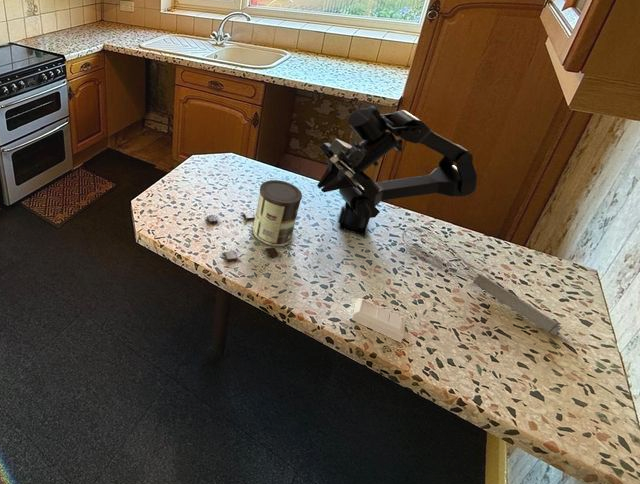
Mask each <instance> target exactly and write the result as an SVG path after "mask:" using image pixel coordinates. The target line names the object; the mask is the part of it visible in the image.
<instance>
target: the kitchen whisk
mask: <svg viewBox="0 0 640 484" xmlns="http://www.w3.org/2000/svg"><path fill="white" fill-rule="evenodd" d="M410 231H413V232H416V233H418V234H420V235H422V236H423V237H425V238H426V239H428V240H429V241H431V242H432V243H434V244H435V245H436V246H438V247H440V248H441V249H442V250H444V251H445V252H446V253H448V254H449V255H450V256H451V257H449V255H447V254H445V253H444V252H442V251H441V250H440V249H439V248H436V247H435V246H434V245H432V244H431V243H430V242H427V241H426V240H425V239H423V238H421V237H420V236H417V235H416V234H413V232H410ZM419 231H420V232H419ZM421 232H422V233H425V234H427V235H429V236H430V237H432V238H434V239H435V240H436V241H438V242H439V243H441V244H442V245H443V246H445V247H446V248H447V249H448V250H450V252H452V253H453V254H454V255H456V256H457V257H458V259H457V257H455V256H453V254H451V253H450V252H448V250H446V249H444V248H443V247H442V246H440V245H439V244H438V243H436V242H435V241H433V240H432V239H431V238H429V237H427V236H426V235H425V234H422V233H421ZM407 233H408V234H411V235H413V236H415V237H417V238H419V239H420V240H421V241H423V242H425V243H426V244H428V245H429V246H431V247H433V248H434V249H436V250H437V251H438V252H440V253H442V254H444V255H445V256H446V257H447V258H449V259H450V260H451V261H453V262H455V263H456V264H457V265H459V266H460V267H462V268H463V269H464V270H466V271H464V270H463V269H461V268H459V267H458V266H456V265H454V264H452V263H451V262H450V261H447V260H446V259H444V258H443V257H441V256H440V255H438V254H436V253H434V252H433V251H431V250H430V249H428V248H427V247H425V246H423V245H422V244H420V243H418V242H417V241H415V240H414V239H413V238H411V237H410V236H409V235H407ZM404 236H405V237H406V239H407V240H408V241H409V242H410V243H411V244H412V245H413V246H415V247H416V248H417V249H418V250H419V251H422V252H423V253H425V254H426V255H428V256H429V257H431V258H433V259H434V260H437V261H438V262H440V263H442V264H443V265H442V264H440V263H437V262H436V261H434V260H432V259H430V258H427V257H426V256H425V255H423V254H421V253H419V252H418V251H416V250H415V249H414V248H412V247H411V246H410V245H408V244H407V242H406V241H405V237H404ZM401 239H402V241H403V243H404V244H405V245H406V247H407V248H408V249H410V250H411V251H412V252H413V253H414V254H415V255H417V256H419V257H420V258H421V259H424V260H426V261H427V262H429V263H431V264H433V265H435V266H437V267H439V268H442V269H444V270H446V271H449V272H451V273H454V274H456V275H457V276H461V277H463V278H466V279H469V280H472V281H473V284H474V285H475V286H477V287H479V288H480V289H482V290H483V291H485V292H486V293H488V294H489V295H491V296H492V297H494V298H495V299H497V300H499V301H500V302H502V303H503V304H504V305H506V306H507V307H509V308H510V309H512V310H514V311H515V312H517V314H519V315H521V316H522V317H524V318H526V319H528V321H530V322H531V323H533V324H535V325H536V326H538V327H539V328H541V329H542V330H544V331H545V332H547V333H549V334H551V335H553V336H558V337H560V338H562V339H564V340H566V341H569V342H573V341H574V338H573V337H572V336H571V334H569V333H568V332H567V331H566V330H565V329H563V326H562V325H560V324H559V323H558V322H557V321H556V320H553V319H552V318H551V317H549V316H548V315H546V314H544V313H543V312H542V311H540V310H539V309H536V308H535V307H534V306H532V305H530V304H529V303H527V302H526V301H524V300H522V299H521V298H519V297H518V296H516V295H515V294H513V293H512V292H510V291H508V290H507V289H505V288H503V287H502V286H501V285H499V284H498V283H496V282H495V281H493V280H491V279H490V278H488V277H487V276H485V275H484V274H482V273H481V274H478V273H477V272H476V271H475V269H474V268H473V267H472V266H470V265H469V264H468V263H467V262H466V261H465V259H463V258H462V257H461V255H459V253H457V252H456V251H455V250H454V249H453V248H451V246H450V245H448V244H447V243H445V242H444V240H442V239H441V238H439V237H438V236H436V235H435V234H434V233H432V232H429V231H428V230H426V229H424V228H422V227H418V226H412V227H408V228H407V229H405V230H403V231H402V234H401ZM411 240H412V241H413V242H414V243H416V244H418V245H419V246H421V247H423V248H424V250H425V249H426V250H427V251H429V252H431V253H432V254H434V255H435V256H437V257H438V258H440V259H441V260H443V261H445V262H446V263H448V264H446V263H444V262H442V261H441V260H440V259H437V258H436V257H434V256H432V255H430V254H429V253H427V252H426V251H424V250H422V249H421V248H420V247H418V246H417V245H415V244H414V243H413V242H412V241H411ZM452 257H453V258H454V259H455V260H454V259H453V258H452ZM459 259H460V260H461V261H462V262H463V263H462V262H461V261H460V260H459ZM459 263H460V264H459ZM449 264H450V265H452V266H453V267H452V266H450V265H449ZM444 265H445V266H444ZM462 265H463V266H462ZM446 266H447V267H446ZM448 267H450V268H448ZM454 267H455V268H454ZM456 268H457V269H456ZM467 271H468V272H467ZM561 330H562V331H563V332H564V333H566V334H567V335H568V336H569V337H570V338H571V340H570V339H567V338H566V337H563V336H561V335H560V334H558V333H559V332H560V331H561Z"/></svg>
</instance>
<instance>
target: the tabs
mask: <svg viewBox="0 0 640 484" xmlns="http://www.w3.org/2000/svg"><path fill="white" fill-rule="evenodd" d="M243 217H244V218H245V220H246V221H255V215H254V213H253V212H252V211H251V212H249V211H247V212H243ZM206 219H207V221H208V224H218V222H219V221H218V220H219V219H217V216H216V215H207V216H206ZM264 252H265V253H266V254H267V256H268V257H269V258H276V257H277V258H278V257H279V252H278V251H277V250H276V247H265V249H264ZM223 255H224V257H225V259H226V262H236V261H237V260H238V258H237V255H236V253H235V252H234V251H225V252H224V254H223Z"/></svg>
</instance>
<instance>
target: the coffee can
mask: <svg viewBox="0 0 640 484" xmlns="http://www.w3.org/2000/svg"><path fill="white" fill-rule="evenodd" d="M302 193H303V192H302V191H301V190H300V188H298V187H297V186H296V185H294V184H292V183H290V182H287V181H284V180H279V179H278V180H277V179H271V180H270V179H269V180H266V181H264V182H262V183H261V184H260V186H259V194H258V200H257V205H256V211H255V215H254V217H255V220H253V221H254V222H253V227H252V233H253V235H254V236H255V238H256V239H257V240H258V241H260V242H262V243H264V244H266V245H268V246H272V247H285V246H286V245H289V244H290V243H291V241H292V238H293V234H294V228H295V225H296V220H297V216H298V214H299V213H298V212H299V208H300V204H301V201H302V199H303V194H302Z"/></svg>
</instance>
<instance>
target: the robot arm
mask: <svg viewBox="0 0 640 484" xmlns="http://www.w3.org/2000/svg"><path fill="white" fill-rule="evenodd" d="M347 124H348V125H349V127H351V129H352V130H353V131H354V132H355V133H356V134H357V136H358V137H359V138H360V139H361V140H362V141H361V142H359V143H358V142H357V141H354V142H352V143H351V144H349V143H347V142H345V141H343V140H341V139H338V138H335V139H334V140H333V141H332V143H330V142H324V143H322V144H321V145H320V146H318V149H319V150H320V151H321V152H322V153H323V154H324V156H325V157H326V161H327V168H326V170H325V172H324V173H323V175H322V177H321V178H320V180H319V181H318V182H317V185H316V187H317V188H318V189H320V190H321V191H320V192H322V193H328V192H333V191H338V193H339V194H340V196H341V198H342V199H343V200H344V202H345V203H344V205H342V206H341V209H340V211H339V215H338V219H337V220H338V223H339V229H340V230H344V231H347V232H352V233H354V234H359V235H362V236H366V235H367V228H368V225H369V222H370V219H371V218H372V219H373V218H374V219H375V218H376V217H377V216H378V215H379V214H380V210H379V209H378V208H377V206H378V205H379V204H380V203H381V202H384V201H390V200H397V199H405V198H410V197H418V196H425V195H432V194H439V195H443V196H447V197H455V198H456V197H466V196H469V195H471V194H472V193H474V192H475V191H476V188H477V183H478V181H477V180H478V179H477V178H478V175H477V172H476V169H475V166H474V163H473V160H474V155H473V154H472V152H471V151H469V150H468V149H467V148H465V147H463V146H462V145H460V144H458V143H454V142H453V141H451V140H449V139H447V138H445V137H444V136H443V135H440V134H438V133H437V132H434V131H433V130H432V129H431V128H430V127H429V126H428V125H427V124H426V123H425V122H424V121H423V120H421V119H420V118H417V117H416V116H415V115H413V114H411V113H410V112H408V111H407V110H405V109H400V110H398V111H394V112H391V113H384V114H381V113H380V111H379V110H378V108H377V107H375V106H373V105H371V106H370V107H368V108H361V109H358V110H355V111H353V112H352V113H350V115H349V116H348V118H347ZM395 136H396V137H395ZM400 138H401V139H400ZM404 141H405V142H410V143H412V144H417V145H418V144H421V145H423V146H426V147H428V148H429V149H431V150H433V151H435V152H436V153H439V154H440V155H442V156H443V157H442V158H441V159H440V160H439V161H438V167H436V168H434V170H433V171H432V172H430V173H429V174H425V175H418V176H412V177H404V178H397V179H390V180H384V181H376V182H375V181H374V180H373V179H372V178H371V177H370V176H368V175H367V174H366V173H365V172H364V171H366V170H367V169H368V168H370V167H371V166H372V165H373V166H374V167H377V166H378V165H379V162H378V161H379V160H380V159H381V158H383V157H384V156H386V155H387V154H388V153H390V152H391V151H392V150H393V149H395V150H396V151H398V152H400V153H401V152H402V151H403V142H404ZM454 163H455V164H456V165H455V164H454ZM343 170H344V171H345V172H344V171H343Z"/></svg>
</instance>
